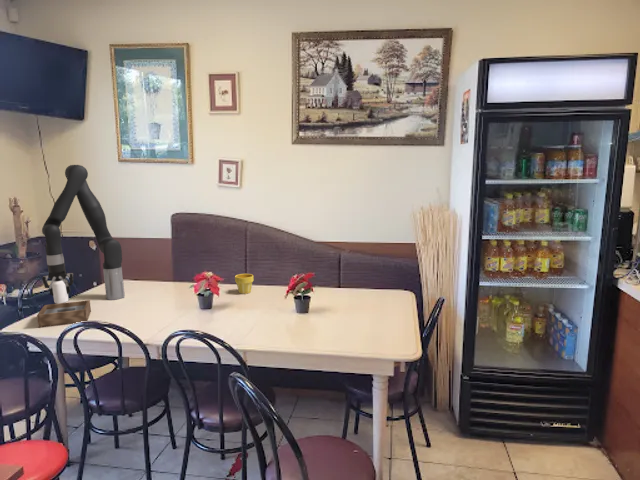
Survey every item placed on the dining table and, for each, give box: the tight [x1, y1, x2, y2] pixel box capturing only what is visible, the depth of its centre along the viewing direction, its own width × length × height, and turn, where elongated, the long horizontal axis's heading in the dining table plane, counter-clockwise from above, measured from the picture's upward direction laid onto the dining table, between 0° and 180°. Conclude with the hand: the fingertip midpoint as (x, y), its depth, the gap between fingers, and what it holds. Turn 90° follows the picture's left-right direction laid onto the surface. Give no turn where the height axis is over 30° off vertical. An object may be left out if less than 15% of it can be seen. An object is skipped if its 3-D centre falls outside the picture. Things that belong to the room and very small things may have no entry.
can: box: [52, 279, 69, 304], centre depth 232 cm, size 6×6×12 cm
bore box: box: [36, 299, 92, 329], centre depth 217 cm, size 20×16×6 cm
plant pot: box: [234, 273, 254, 295], centre depth 256 cm, size 10×10×10 cm
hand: (60, 294), depth 232 cm, fingers closed on can, 6 cm apart
